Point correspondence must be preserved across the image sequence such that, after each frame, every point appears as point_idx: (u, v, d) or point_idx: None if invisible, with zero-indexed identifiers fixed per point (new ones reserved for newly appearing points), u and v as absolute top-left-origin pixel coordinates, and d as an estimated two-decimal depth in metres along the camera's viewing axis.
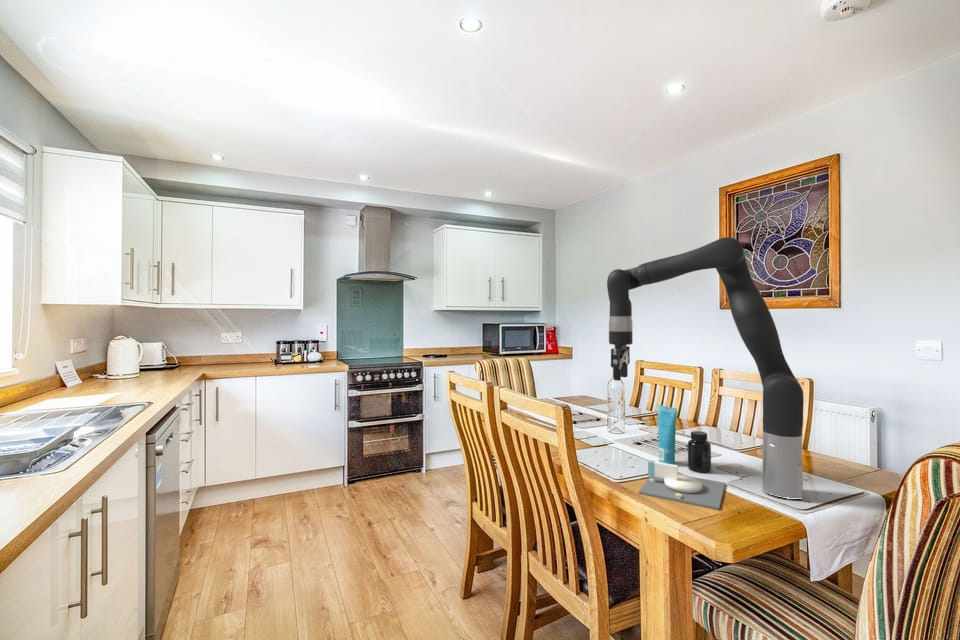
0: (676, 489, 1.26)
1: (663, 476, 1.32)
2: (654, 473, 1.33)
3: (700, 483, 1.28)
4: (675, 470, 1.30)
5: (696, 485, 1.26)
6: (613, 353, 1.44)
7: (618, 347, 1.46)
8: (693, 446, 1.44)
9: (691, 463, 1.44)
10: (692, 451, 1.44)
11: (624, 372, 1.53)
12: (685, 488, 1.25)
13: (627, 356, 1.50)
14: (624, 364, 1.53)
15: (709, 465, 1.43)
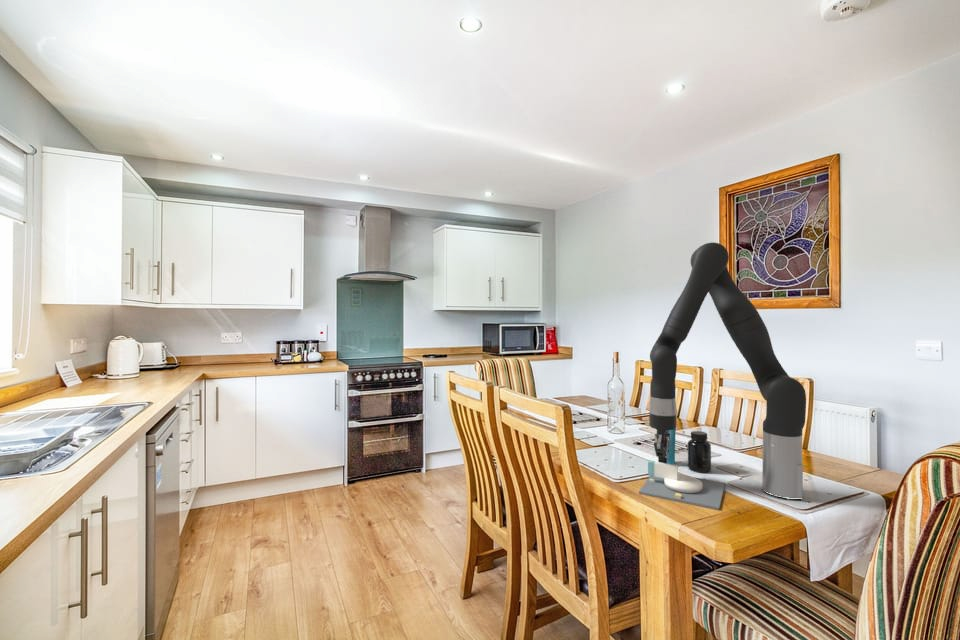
0: (676, 489, 1.26)
1: (663, 476, 1.32)
2: (654, 473, 1.33)
3: (700, 483, 1.28)
4: (675, 470, 1.30)
5: (696, 485, 1.26)
6: (657, 448, 1.31)
7: (661, 433, 1.32)
8: (693, 446, 1.44)
9: (691, 463, 1.44)
10: (692, 451, 1.44)
11: None
12: (685, 488, 1.25)
13: (669, 442, 1.35)
14: None
15: (709, 465, 1.43)
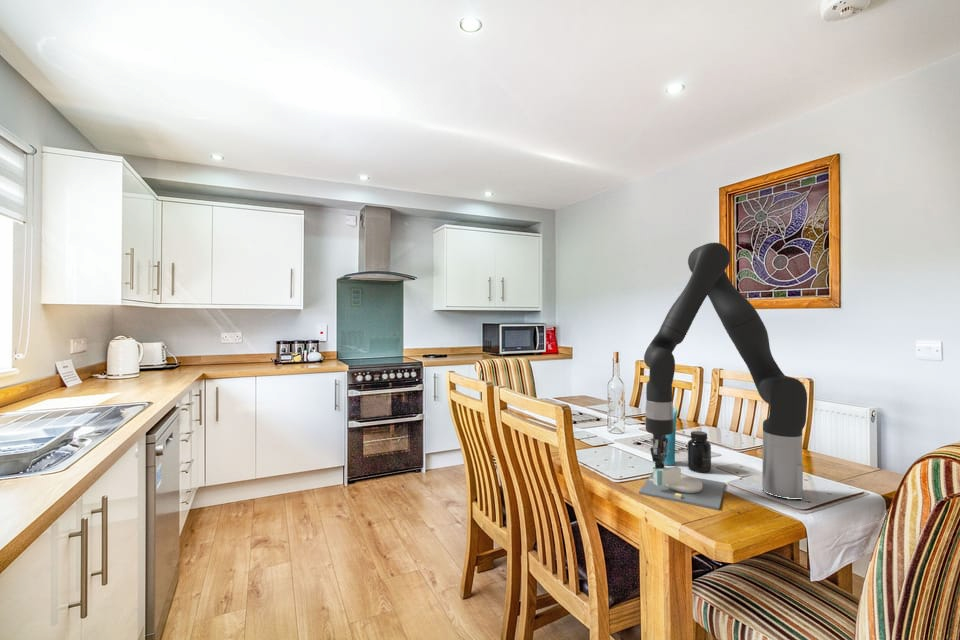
0: (692, 491, 1.25)
1: (669, 482, 1.28)
2: (662, 481, 1.27)
3: (694, 478, 1.32)
4: (679, 472, 1.29)
5: (698, 481, 1.29)
6: (654, 453, 1.26)
7: (657, 438, 1.27)
8: (693, 446, 1.44)
9: (691, 463, 1.44)
10: (692, 451, 1.44)
11: None
12: (699, 488, 1.26)
13: (666, 446, 1.31)
14: None
15: (709, 465, 1.43)
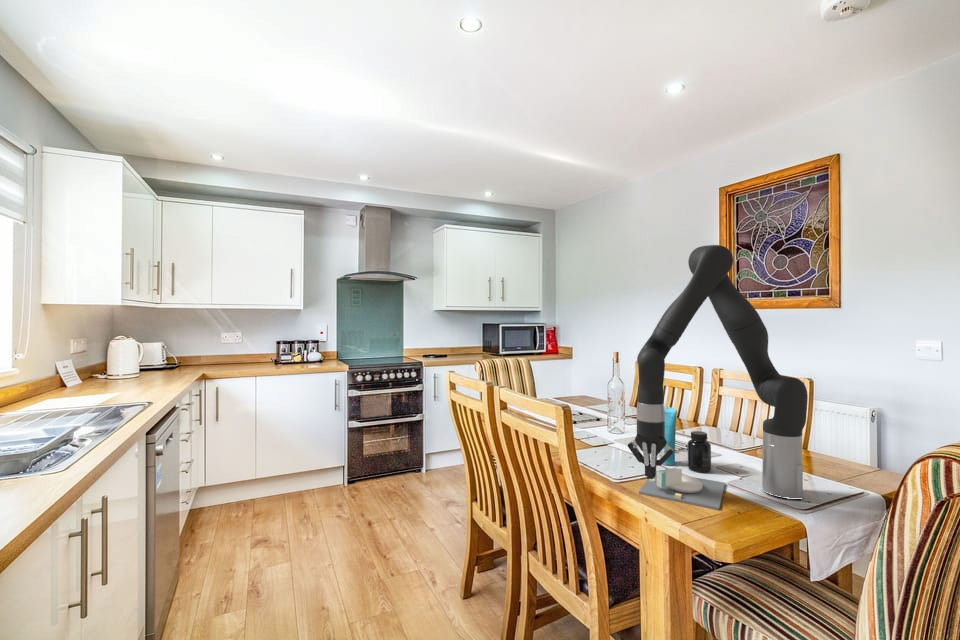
0: (695, 491, 1.25)
1: (672, 483, 1.27)
2: (666, 483, 1.26)
3: (692, 477, 1.32)
4: (680, 472, 1.28)
5: (697, 480, 1.30)
6: None
7: None
8: (693, 446, 1.44)
9: (691, 463, 1.44)
10: (692, 451, 1.44)
11: None
12: (700, 487, 1.26)
13: (652, 451, 1.27)
14: (651, 463, 1.28)
15: (709, 465, 1.43)
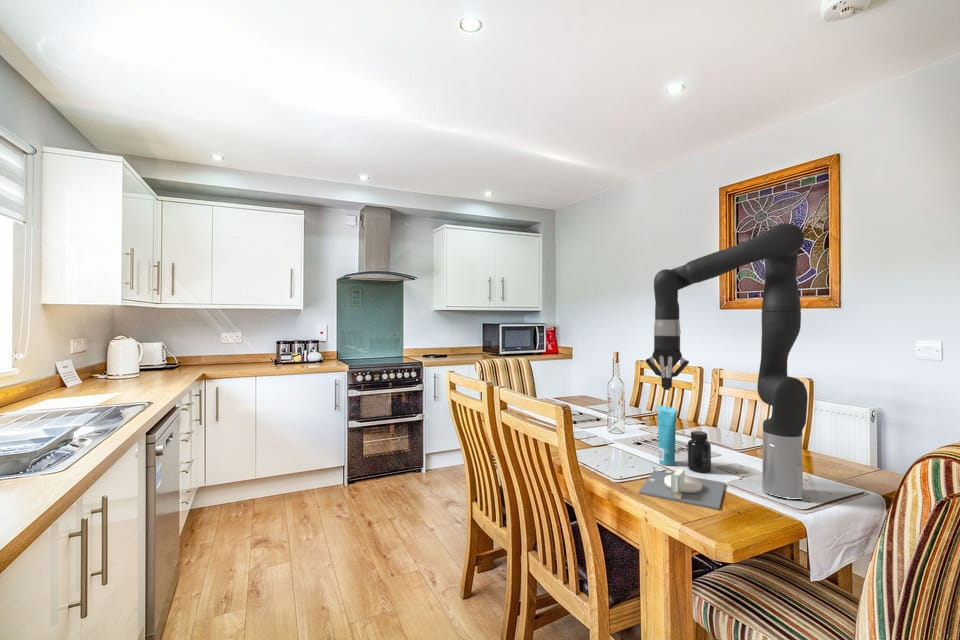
0: (700, 489, 1.26)
1: (681, 485, 1.25)
2: (679, 486, 1.23)
3: (685, 475, 1.34)
4: (684, 473, 1.28)
5: (693, 478, 1.32)
6: None
7: None
8: (693, 446, 1.44)
9: (691, 463, 1.44)
10: (692, 451, 1.44)
11: None
12: None
13: (668, 363, 1.38)
14: (667, 375, 1.40)
15: (709, 465, 1.43)
